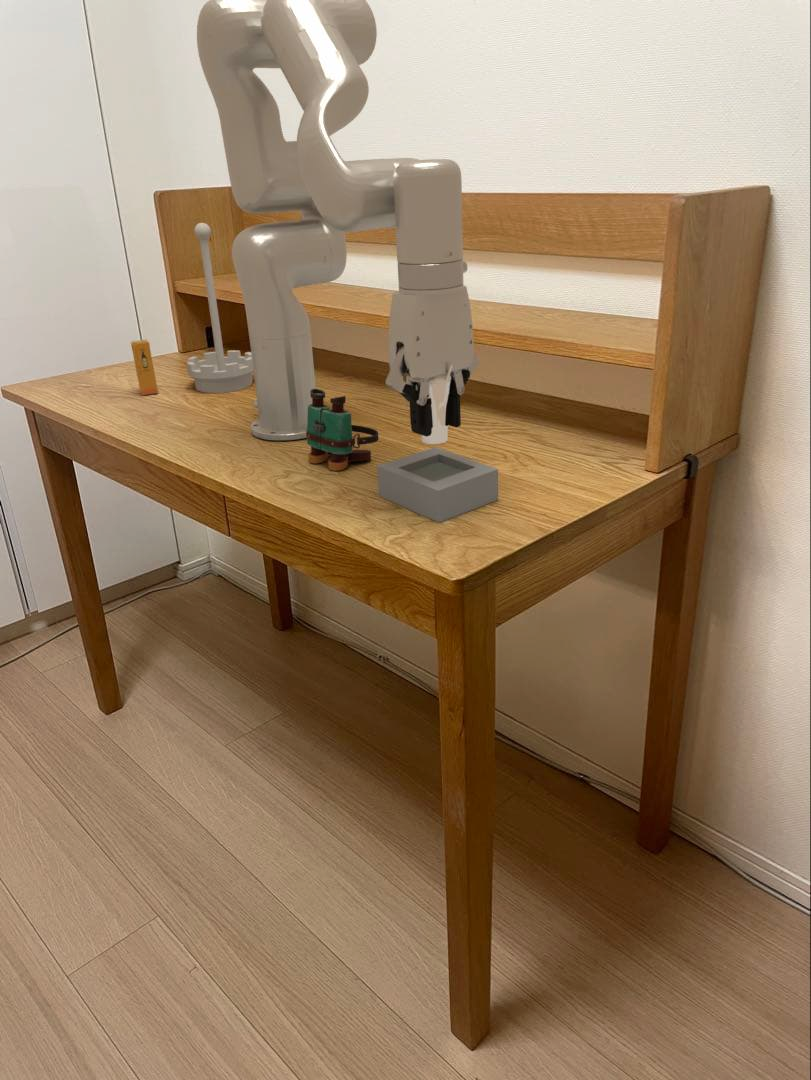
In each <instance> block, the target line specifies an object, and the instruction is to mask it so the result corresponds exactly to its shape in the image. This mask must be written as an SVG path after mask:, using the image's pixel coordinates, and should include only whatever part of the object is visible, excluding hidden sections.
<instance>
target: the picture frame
mask: <svg viewBox="0 0 811 1080" xmlns="http://www.w3.org/2000/svg"><path fill="white" fill-rule="evenodd" d="M376 471H377V473H376V474H377V488H378V490H377V491H378V497H380V498H383V499H385V500H387V501H390V502H391V503H394V504H396V505H399V506H400V507H403V508H404V509H407V510H409V511H411V512H414V513H416V514H418V515H420V516H422V517H424V518H427V519H429V520H432V521H434V522H436V523H438V524H439V523H442V522H445V521H448V520H450V519H453V518H455V517H458V516H461V515H463V514H465V513H468V512H471V511H473V510H476V509H479V508H481V507H483V506H486V505H489V504H491V503H493V502H496V501H499V469H498V468H496V467H493V466H491V465H487V464H485V463H482V462H479V461H476V460H474V459H470V458H468V457H465V456H462V455H459V454H457V453H453V452H450V451H449V450H445V449H441V448H440V447H437V446H434V447H430V448H429V449H426V450H421V451H419V452H415V453H413V454H410V455H406V456H404V457H400V458H398V459H394V460H391V461H388V462H385V463H381V464H378V465H377V466H376Z"/></svg>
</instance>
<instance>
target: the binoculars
mask: <svg viewBox="0 0 811 1080" xmlns="http://www.w3.org/2000/svg"><path fill="white" fill-rule="evenodd" d="M310 394H311V398H312V404H310V405H308V418H307V431H306V437H307V438H306V444H307V445H308V446H309V447H310V452H309V453H308V462H309V463H310V464H320V463H323V462H325V461H326V460H327V459H328V458H329V456H330V457H331V458H330V459H328V469H329V470H330V471H334V472H335V471H342V470H344V469H346V468H347V467H348V464H349V463H350V462H359V461H360V462H361V461H362V462H365V461H370V460H371V459H372V451H371V450H370V449H369V450H368V449H360V446H362V445H367V444H374V443H377V442H378V441H379V431H378V430H376V429H375V428H371V427H367V426H363V425H355V424H352V414H351V411H349V410H344V409H345V408H344V407H345V406H344V404H345V403H346V397H347V396H346V395H344V396H338V397H337V396H336V397H332V398H330V399H329V400H330V401H329V402H330V403H331V408H330V406H328V405H326V404H324V399H325V398H326V392H325V391H324V390H322V389H319V388H316V389H312V390H311V391H310ZM353 433H356V434H355V435H353ZM360 434H364V435H369V436H361V435H360ZM356 437H357V438H356ZM355 445H357V446H355ZM353 448H354V449H353Z"/></svg>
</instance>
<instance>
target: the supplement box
mask: <svg viewBox="0 0 811 1080" xmlns="http://www.w3.org/2000/svg"><path fill="white" fill-rule="evenodd" d="M150 345H151V344H150V342H149V340H148V339H141V340H133V341H130V346H131V350H132V351H131V352H132V356H133V360H134V366H135V370H136V376H137V381H138V387H139V391H140V395H141V396H143V397H144V396H148V395H150V396H151V395H156V394H157V395H158V394H159V390H158V389H159V388H158V385H157V379H156V374H155V369H154V362H153V357H152V354H151V353H152V352H151V346H150Z"/></svg>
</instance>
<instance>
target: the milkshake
mask: <svg viewBox="0 0 811 1080" xmlns="http://www.w3.org/2000/svg"><path fill="white" fill-rule="evenodd" d="M452 367H453V365H451V366H450V369H449V372H448V374H445V375H441V376H437V377H433V378H429V383H428V392H427V401H426V403H427V404H430V406H431V427H432V433H431V435H430V436H427V437H426V436H423V435H420V441H421V442H422V444H423V445H425V444H426V445H427V446H428V445H429V446H432V445H433V446H436V445H443V444H445V443H447V441H448V438H449V437H448V435H449V425H448V419H449V400H450V387H451V375H450V373H451V370H452ZM417 388H418V383H417V382H416V390H417Z"/></svg>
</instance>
